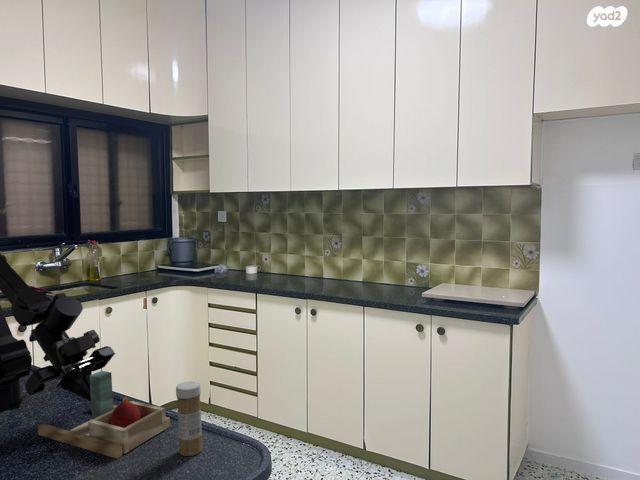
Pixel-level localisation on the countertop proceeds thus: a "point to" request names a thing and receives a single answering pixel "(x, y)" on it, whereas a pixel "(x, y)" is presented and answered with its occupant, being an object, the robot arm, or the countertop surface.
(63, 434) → the guide rails
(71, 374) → the robot arm
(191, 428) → the sprinkles bottle
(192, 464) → the countertop surface
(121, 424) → the onion
